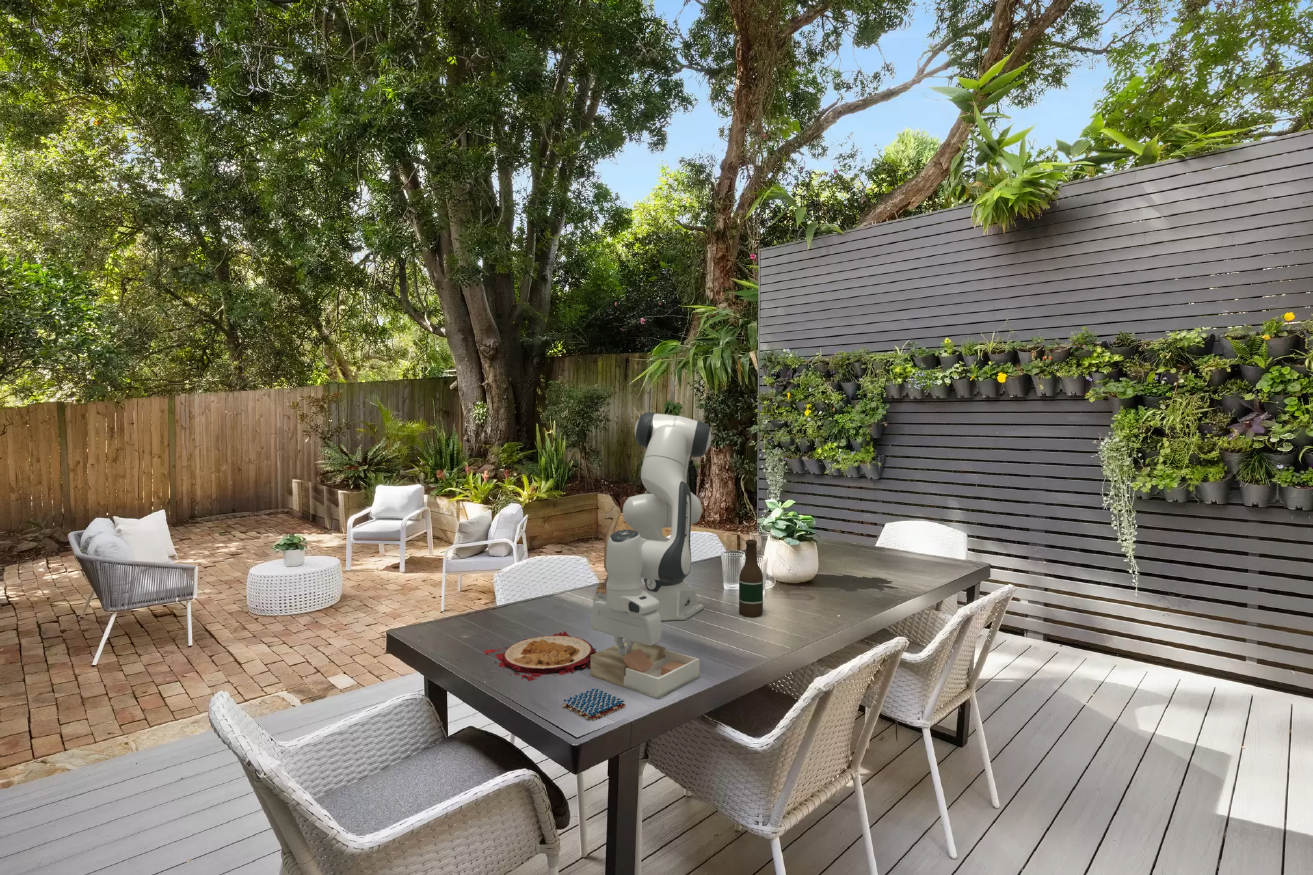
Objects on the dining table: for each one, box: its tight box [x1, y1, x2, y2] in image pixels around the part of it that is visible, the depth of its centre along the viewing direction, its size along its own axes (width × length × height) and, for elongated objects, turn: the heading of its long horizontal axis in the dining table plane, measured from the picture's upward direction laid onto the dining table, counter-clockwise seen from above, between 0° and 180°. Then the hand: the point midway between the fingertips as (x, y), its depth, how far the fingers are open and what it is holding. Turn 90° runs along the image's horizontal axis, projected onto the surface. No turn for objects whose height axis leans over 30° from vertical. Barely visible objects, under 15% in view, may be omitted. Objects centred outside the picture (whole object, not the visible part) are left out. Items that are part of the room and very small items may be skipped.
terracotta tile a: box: [661, 661, 685, 676], centre depth 163 cm, size 5×5×2 cm
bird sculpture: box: [595, 504, 622, 595], centre depth 239 cm, size 11×12×32 cm
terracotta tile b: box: [623, 649, 653, 673], centre depth 159 cm, size 5×5×2 cm
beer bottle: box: [738, 538, 764, 619], centre depth 213 cm, size 8×8×24 cm
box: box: [624, 649, 700, 700], centre depth 160 cm, size 16×10×4 cm, turn 141°
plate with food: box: [484, 631, 598, 682], centre depth 176 cm, size 25×26×4 cm
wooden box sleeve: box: [590, 641, 667, 688], centre depth 167 cm, size 16×11×5 cm
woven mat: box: [562, 688, 627, 722], centre depth 146 cm, size 10×11×2 cm
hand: (624, 654), depth 161 cm, fingers closed
